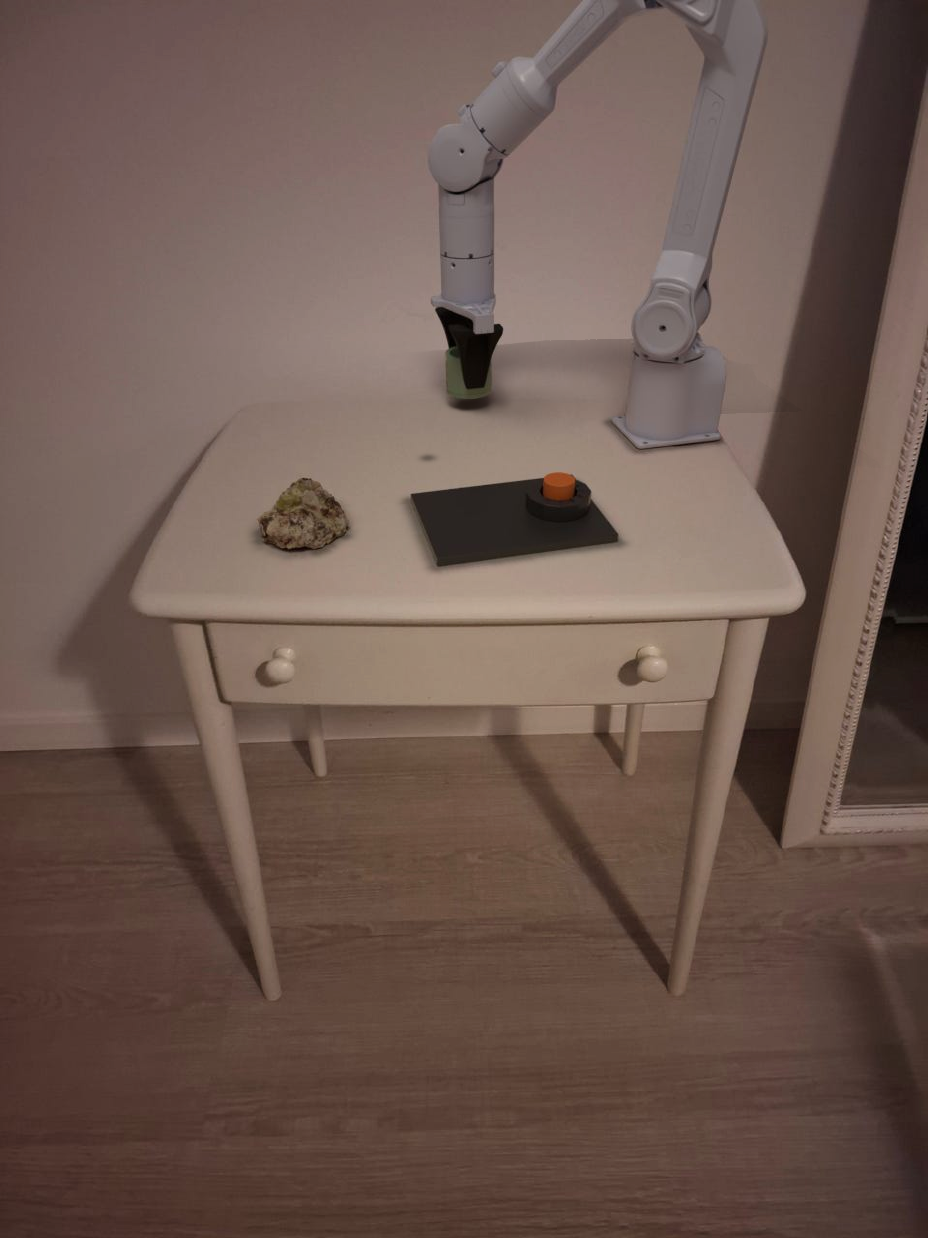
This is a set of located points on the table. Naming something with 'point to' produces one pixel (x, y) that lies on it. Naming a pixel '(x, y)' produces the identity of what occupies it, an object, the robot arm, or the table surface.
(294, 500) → the mineral rock
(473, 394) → the cup
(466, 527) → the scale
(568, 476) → the power button
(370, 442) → the table surface
